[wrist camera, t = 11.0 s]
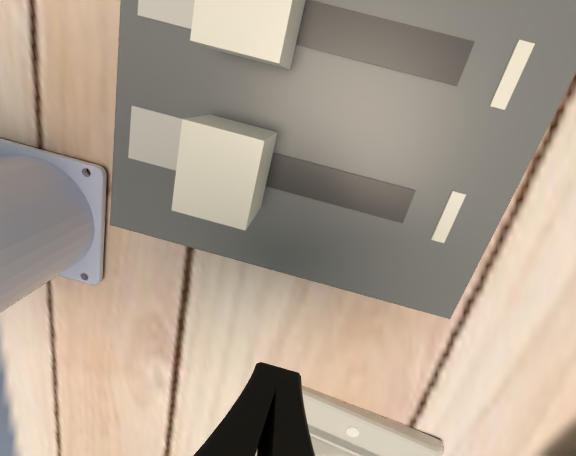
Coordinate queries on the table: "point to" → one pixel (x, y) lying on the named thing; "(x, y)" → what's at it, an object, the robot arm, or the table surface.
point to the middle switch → (249, 28)
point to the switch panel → (351, 135)
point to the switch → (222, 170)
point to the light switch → (360, 431)
